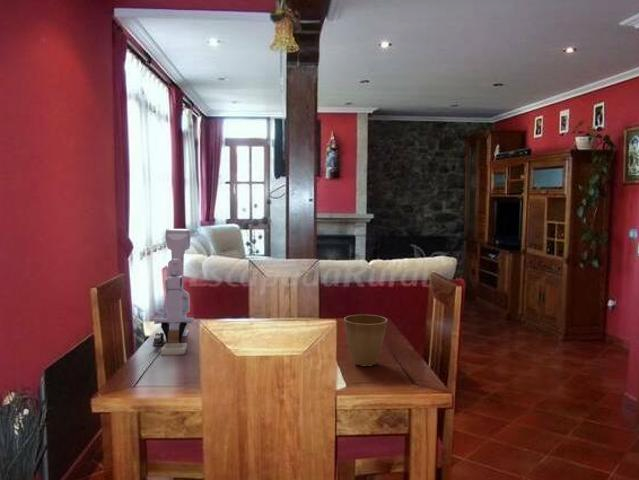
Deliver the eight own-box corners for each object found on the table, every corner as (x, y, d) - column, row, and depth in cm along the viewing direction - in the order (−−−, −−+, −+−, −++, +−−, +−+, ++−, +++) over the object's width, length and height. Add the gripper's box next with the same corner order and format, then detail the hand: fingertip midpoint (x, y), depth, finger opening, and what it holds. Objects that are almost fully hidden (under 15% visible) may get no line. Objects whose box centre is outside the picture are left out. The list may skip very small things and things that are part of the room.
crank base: (154, 342, 206) (154, 332, 205) (180, 341, 207) (180, 331, 207) (151, 346, 200) (151, 336, 199) (178, 346, 201) (178, 335, 201)
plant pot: (349, 355, 193) (350, 312, 192) (389, 360, 188) (391, 316, 187) (337, 367, 179) (338, 321, 178) (380, 372, 174) (381, 325, 173)
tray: (164, 348, 197) (164, 343, 197) (186, 348, 198) (186, 343, 198) (161, 354, 189) (161, 349, 189) (183, 354, 190) (183, 349, 190)
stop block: (169, 344, 203) (169, 329, 203) (180, 344, 204) (180, 329, 203) (167, 347, 199) (167, 331, 199) (178, 347, 200) (178, 331, 199)
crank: (156, 340, 204) (156, 331, 204) (164, 340, 204) (164, 331, 204) (151, 346, 195) (151, 337, 195) (160, 346, 195) (160, 337, 195)
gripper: (152, 309, 195) (152, 345, 196) (192, 309, 197) (192, 344, 198) (156, 305, 202) (156, 340, 203) (194, 305, 204) (194, 339, 205)
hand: (174, 342), depth 201 cm, fingers closed on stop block, 4 cm apart
